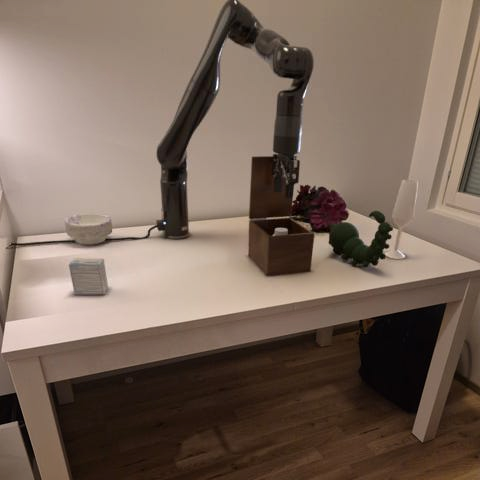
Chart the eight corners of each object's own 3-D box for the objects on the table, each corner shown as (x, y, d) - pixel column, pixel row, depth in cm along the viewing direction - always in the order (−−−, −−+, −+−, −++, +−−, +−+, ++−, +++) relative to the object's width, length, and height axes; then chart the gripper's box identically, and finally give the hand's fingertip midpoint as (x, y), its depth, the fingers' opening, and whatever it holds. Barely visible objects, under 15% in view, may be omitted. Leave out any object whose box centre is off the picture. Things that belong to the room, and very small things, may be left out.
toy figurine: (387, 275, 129) (336, 244, 147) (404, 216, 119) (347, 190, 137) (364, 280, 125) (314, 248, 143) (380, 219, 115) (324, 193, 133)
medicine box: (108, 288, 113) (104, 257, 109) (104, 295, 109) (100, 264, 105) (79, 288, 113) (73, 257, 109) (74, 295, 109) (68, 264, 105)
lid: (297, 155, 125) (289, 152, 130) (252, 157, 122) (246, 153, 126) (290, 216, 135) (284, 211, 140) (249, 219, 131) (244, 213, 136)
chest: (310, 271, 127) (314, 233, 121) (266, 276, 123) (268, 236, 117) (287, 252, 141) (290, 217, 136) (248, 255, 137) (249, 220, 132)
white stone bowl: (116, 245, 144) (113, 222, 140) (69, 250, 139) (65, 226, 135) (111, 232, 156) (108, 211, 153) (67, 236, 151) (63, 214, 148)
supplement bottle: (275, 265, 128) (277, 233, 123) (266, 259, 132) (268, 227, 127) (291, 263, 130) (294, 230, 125) (282, 257, 135) (284, 225, 130)
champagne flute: (387, 250, 145) (401, 178, 133) (407, 254, 142) (423, 180, 130) (382, 256, 140) (396, 181, 128) (402, 260, 137) (419, 184, 125)
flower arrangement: (280, 215, 183) (283, 179, 176) (319, 211, 190) (323, 177, 182) (318, 235, 158) (322, 195, 151) (361, 231, 164) (367, 192, 157)
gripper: (311, 136, 108) (305, 200, 116) (290, 131, 120) (285, 189, 128) (284, 136, 106) (280, 201, 114) (265, 131, 118) (262, 190, 126)
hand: (283, 195), depth 121 cm, fingers open, 8 cm apart
